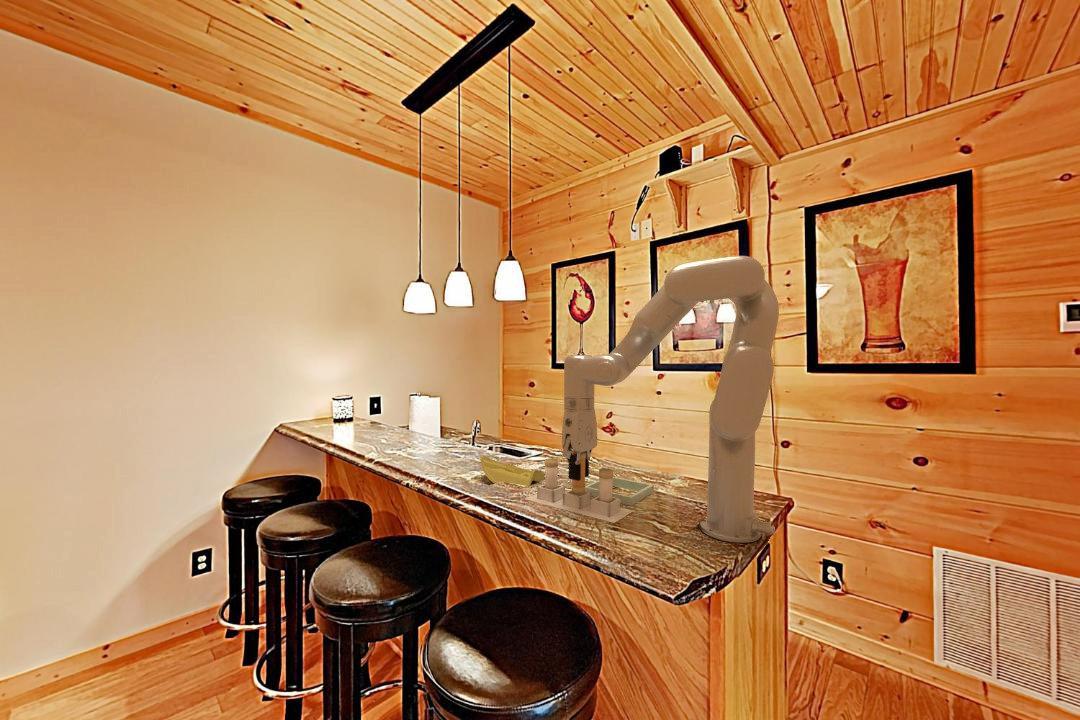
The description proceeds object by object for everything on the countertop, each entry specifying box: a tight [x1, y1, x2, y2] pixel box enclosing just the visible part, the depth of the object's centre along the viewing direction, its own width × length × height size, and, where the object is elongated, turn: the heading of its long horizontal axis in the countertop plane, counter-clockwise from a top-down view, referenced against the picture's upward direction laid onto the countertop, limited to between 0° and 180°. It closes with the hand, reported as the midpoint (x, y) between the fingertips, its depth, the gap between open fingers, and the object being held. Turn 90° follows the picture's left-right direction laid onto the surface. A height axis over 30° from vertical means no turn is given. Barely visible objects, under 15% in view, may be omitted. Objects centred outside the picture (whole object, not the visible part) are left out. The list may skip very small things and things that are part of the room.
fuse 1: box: [544, 457, 559, 490], centre depth 121 cm, size 3×3×10 cm
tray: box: [585, 476, 655, 507], centre depth 126 cm, size 14×14×4 cm
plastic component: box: [480, 454, 545, 488], centre depth 140 cm, size 20×7×10 cm
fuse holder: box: [524, 483, 634, 524], centre depth 116 cm, size 10×26×4 cm, turn 53°
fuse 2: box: [598, 468, 614, 503], centre depth 111 cm, size 3×3×10 cm
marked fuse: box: [571, 452, 586, 494], centre depth 116 cm, size 3×3×10 cm
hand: (578, 477), depth 116 cm, fingers closed on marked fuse, 3 cm apart
